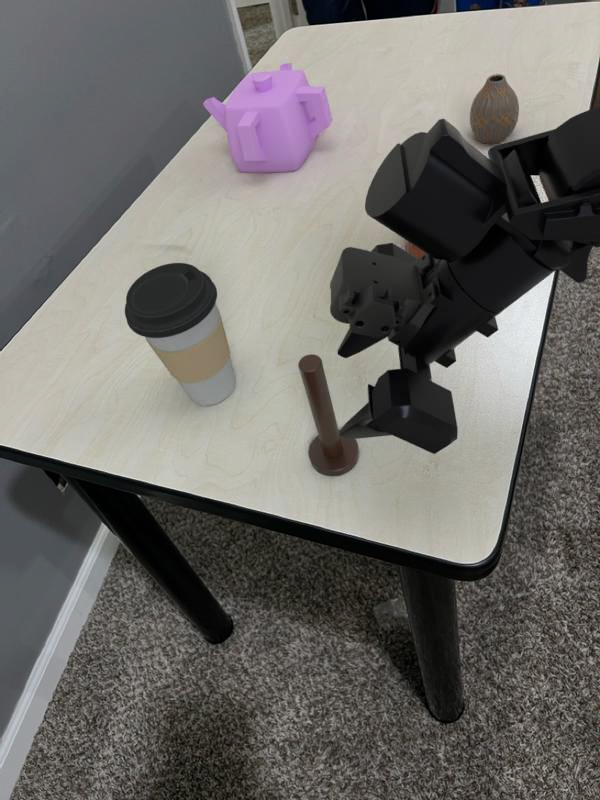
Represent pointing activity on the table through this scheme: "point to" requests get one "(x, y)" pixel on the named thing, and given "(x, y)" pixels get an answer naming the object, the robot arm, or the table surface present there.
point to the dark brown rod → (325, 423)
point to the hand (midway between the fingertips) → (342, 393)
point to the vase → (494, 111)
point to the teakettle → (272, 120)
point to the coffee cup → (184, 329)
